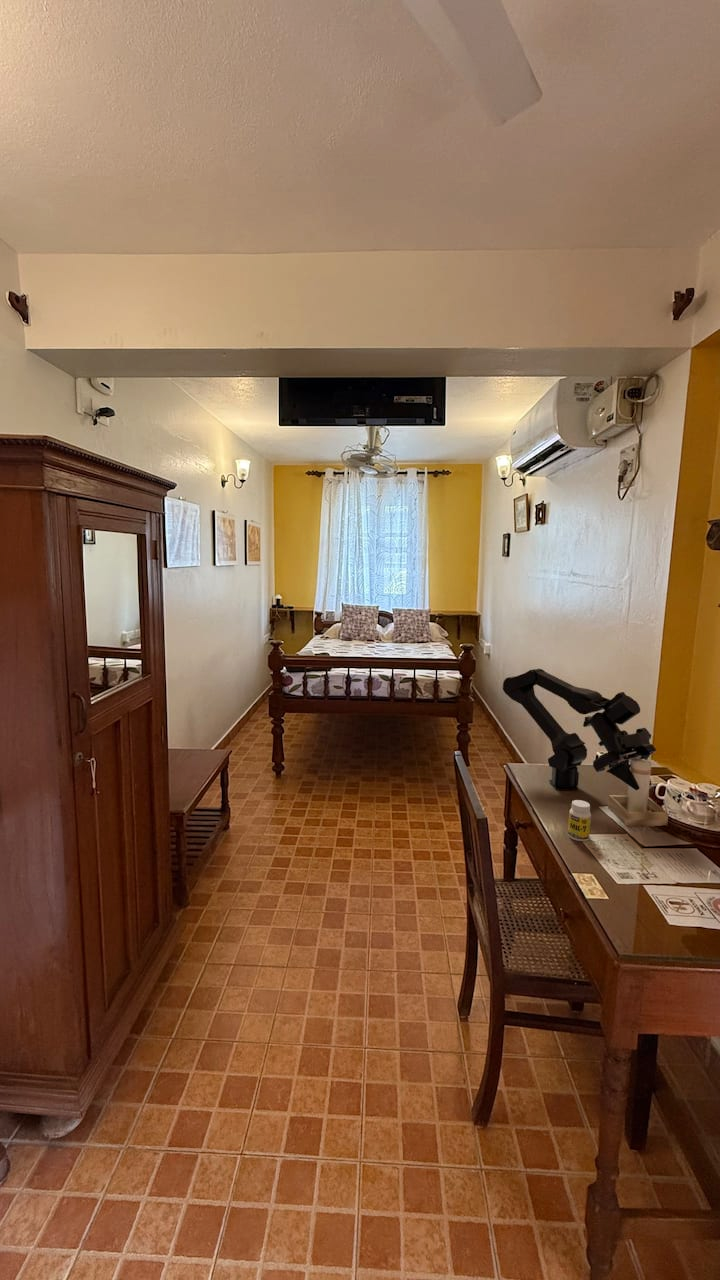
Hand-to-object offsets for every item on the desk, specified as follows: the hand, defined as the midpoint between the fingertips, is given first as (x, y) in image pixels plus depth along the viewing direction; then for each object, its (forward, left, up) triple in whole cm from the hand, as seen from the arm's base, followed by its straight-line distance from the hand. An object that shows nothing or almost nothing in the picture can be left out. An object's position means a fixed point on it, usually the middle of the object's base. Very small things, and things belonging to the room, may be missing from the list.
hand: (643, 787), depth 138 cm
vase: (-1, +1, -7) cm, 7 cm away
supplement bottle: (-20, -10, -9) cm, 24 cm away
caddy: (-1, +1, -8) cm, 8 cm away
